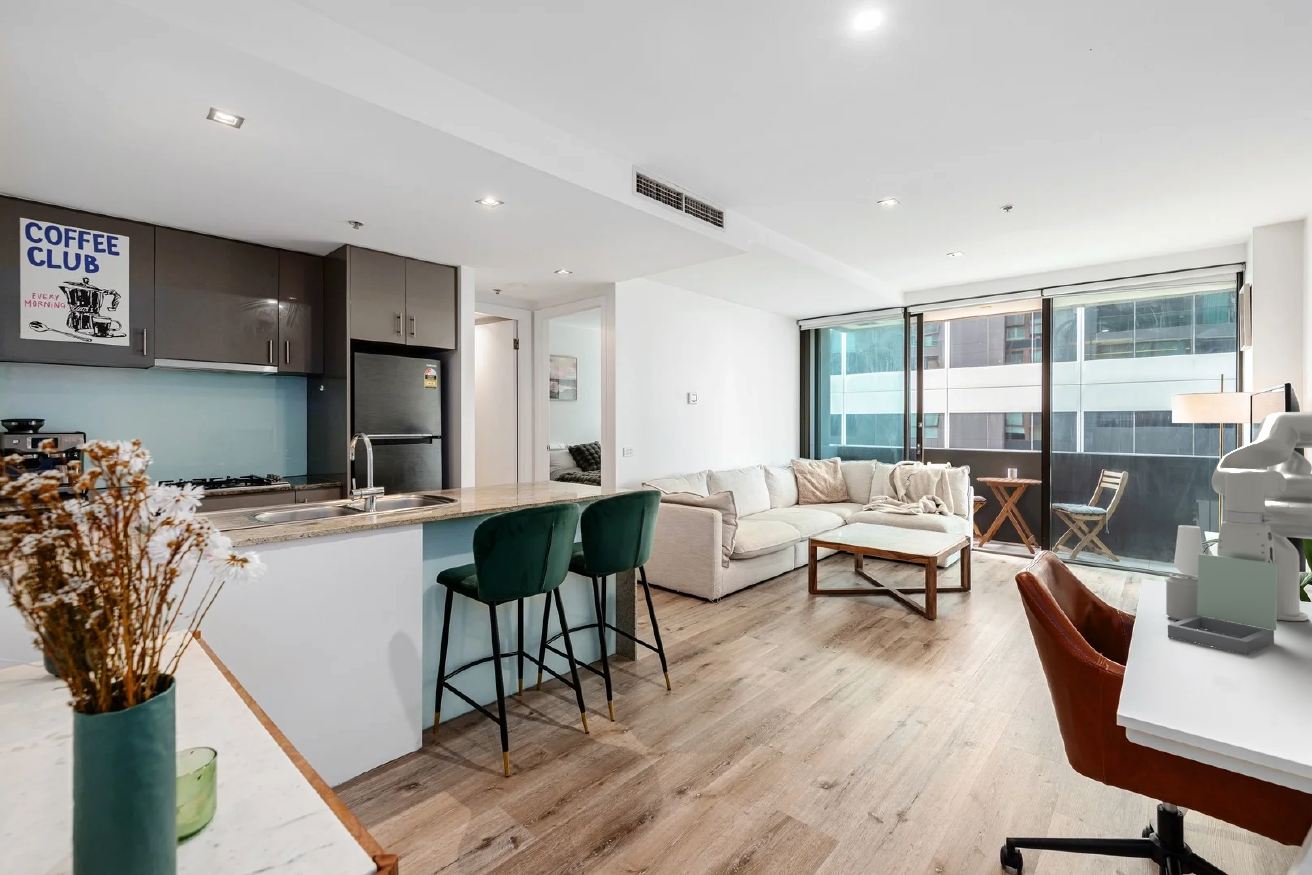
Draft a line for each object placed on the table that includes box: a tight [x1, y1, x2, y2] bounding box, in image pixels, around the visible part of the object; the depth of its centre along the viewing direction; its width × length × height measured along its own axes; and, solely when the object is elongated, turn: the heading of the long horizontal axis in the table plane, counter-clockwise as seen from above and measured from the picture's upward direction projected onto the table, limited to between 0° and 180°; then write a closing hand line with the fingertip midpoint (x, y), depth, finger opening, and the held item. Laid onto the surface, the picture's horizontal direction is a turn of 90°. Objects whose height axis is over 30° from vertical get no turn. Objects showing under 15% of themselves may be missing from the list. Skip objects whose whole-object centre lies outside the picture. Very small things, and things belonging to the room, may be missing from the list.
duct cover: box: [1197, 553, 1278, 631], centre depth 157 cm, size 16×15×1 cm
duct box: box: [1167, 615, 1275, 656], centre depth 153 cm, size 16×15×3 cm
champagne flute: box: [1173, 524, 1204, 576], centre depth 178 cm, size 7×7×24 cm
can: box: [1165, 573, 1199, 621], centre depth 169 cm, size 8×8×12 cm
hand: (1244, 589), depth 160 cm, fingers closed
